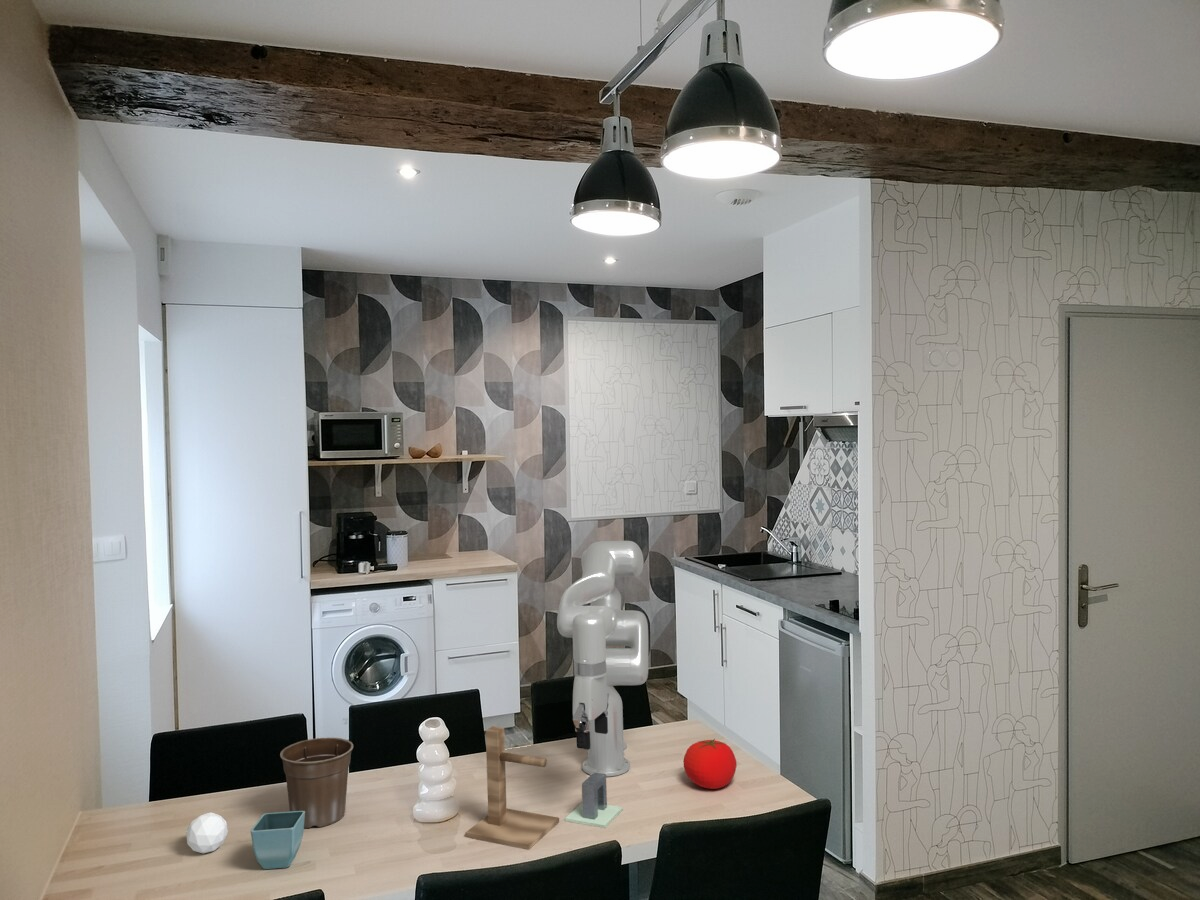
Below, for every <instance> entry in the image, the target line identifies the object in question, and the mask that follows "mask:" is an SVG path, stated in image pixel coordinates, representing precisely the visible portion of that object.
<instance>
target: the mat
mask: <svg viewBox="0 0 1200 900" xmlns="http://www.w3.org/2000/svg"><path fill="white" fill-rule="evenodd" d="M623 808H624V807H622V806H617V805H611V804H607V808H606V809H605V810H598V817H597V818H596V819H595V820H593V819H587V818H583V810H582V802H581V803H580V804H579V805H578V806H577V807H575V809H574V810H572V811H571V812H570V813H569V814H568V815H567V816H565V818H564V821H565V822H570V823H576V824H581V825H584V826H585V825H587V826H591V827H592V826H593V827H597V828H604V829H606V828H607V827H608V826H609V825H610V824H611V823H612V822H613V820H615V818H617V816H619V814H620V813H621V812H622V811H623ZM611 821H612V822H611ZM610 822H611V823H610Z"/></svg>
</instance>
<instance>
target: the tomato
mask: <svg viewBox="0 0 1200 900" xmlns="http://www.w3.org/2000/svg"><path fill="white" fill-rule="evenodd" d="M737 764H738V763H737V759H736V755H735V753H734V751H733V750H732V748H731V747H730V746H729V745H728V744H727V743H726V742H722V741H720V740H715V738H714V739H706V740H705V739H704V740H700V741H699V740H698V741H697V742H695V743H693V744H690V746H689V747H688V748H687V749H686V752H685V753H684V757H683V768H684V772H685V774H686V776H687V777H688V779H690V780H691V781H692V782H693V783H694V784H695V785H697V786H699V787H701V788H705V789H711V790H712V789H713V790H715V789H720V788H723V787H725V786H726V785H728V784H729V783H731V781H732V779H733V778H734V776H735V773H736V769H737Z"/></svg>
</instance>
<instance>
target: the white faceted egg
mask: <svg viewBox="0 0 1200 900" xmlns="http://www.w3.org/2000/svg"><path fill="white" fill-rule="evenodd" d="M227 823H228V822H227V821H226V820H225V819H224V817H223V816H221V815H220V814H217V813H214V812H211V811H210V812H207V813H204V814H201V815H199V816H197V817H196V818H195V819H194V820H192V821H191V822H190V825H189V826H188V827H187V830H186V843H187V846H189V847H190V849H191V850H192V851H193V852H197V853H200V854H207V853H211V852H214V851H216V850H217V849H218V848H219V847H221V846H222V845H223V844H224V841H225V840H226V839H227V838H226V837H227V835H228V833H229V832H228V825H227Z"/></svg>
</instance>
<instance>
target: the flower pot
mask: <svg viewBox="0 0 1200 900" xmlns="http://www.w3.org/2000/svg"><path fill="white" fill-rule="evenodd" d="M304 819H305V811H292V812H290V811H280V812H267V813H265V812H264V813H263V814H261V816H260V817H259V819H258V820H257V822H256V823H255V824H254V825H253V826H252V828H251V829H250V836H251V843H252V848H253V849H252V850H253V854H254V857H255V859H256V861H257V862H258V863H259V865H260V866H261V867H262V869H264V870H271V869H283V868H285V869H286V868H289V867H290V866H291V865H292V863H293V861H294V859H295V858H296V856H297V854H298V852H299V849H300V846H301V844H302V842H303V841H302V840H303V836H304V830H305V828H304Z"/></svg>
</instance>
